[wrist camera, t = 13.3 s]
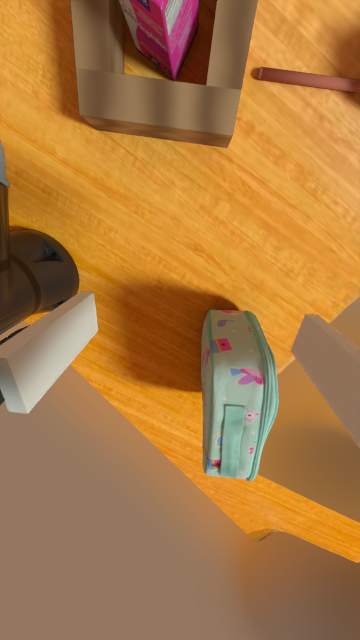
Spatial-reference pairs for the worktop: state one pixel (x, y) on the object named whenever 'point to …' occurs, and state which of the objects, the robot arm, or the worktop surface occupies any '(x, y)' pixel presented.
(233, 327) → the lunch box
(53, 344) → the robot arm
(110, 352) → the worktop surface
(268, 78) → the reddish-brown thin rod
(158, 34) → the supplement box
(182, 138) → the brown wooden square frame
